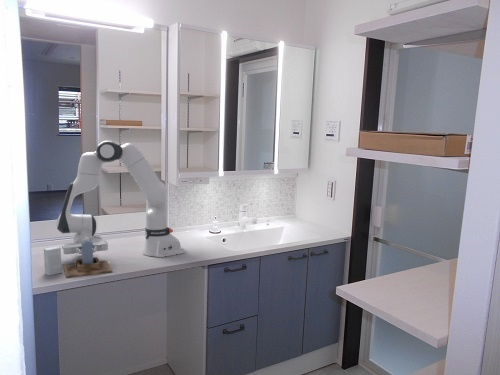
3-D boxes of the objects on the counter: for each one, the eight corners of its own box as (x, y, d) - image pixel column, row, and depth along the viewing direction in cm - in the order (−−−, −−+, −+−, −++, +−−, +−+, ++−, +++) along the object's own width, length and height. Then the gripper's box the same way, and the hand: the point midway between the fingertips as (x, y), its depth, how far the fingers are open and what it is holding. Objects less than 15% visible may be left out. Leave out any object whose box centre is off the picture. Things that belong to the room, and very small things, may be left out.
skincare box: (57, 270, 195) (56, 245, 193) (61, 272, 192) (60, 247, 190) (44, 273, 190) (43, 248, 188) (48, 275, 187) (47, 250, 186)
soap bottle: (91, 262, 200) (91, 236, 198) (93, 265, 196) (92, 238, 194) (81, 263, 198) (81, 237, 196) (82, 266, 194) (82, 239, 192)
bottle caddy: (107, 262, 209) (107, 254, 208) (112, 272, 195) (112, 264, 194) (63, 267, 200) (63, 259, 199) (66, 278, 185) (65, 269, 185)
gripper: (61, 239, 202) (63, 247, 190) (105, 236, 211) (109, 243, 199) (61, 252, 203) (63, 260, 191) (105, 248, 212) (109, 255, 200)
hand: (87, 251), depth 195 cm, fingers closed on soap bottle, 4 cm apart
